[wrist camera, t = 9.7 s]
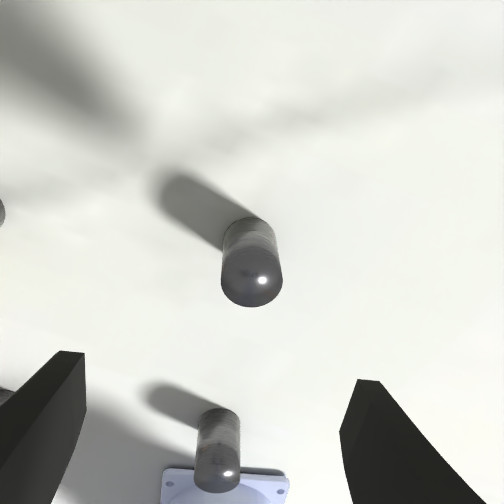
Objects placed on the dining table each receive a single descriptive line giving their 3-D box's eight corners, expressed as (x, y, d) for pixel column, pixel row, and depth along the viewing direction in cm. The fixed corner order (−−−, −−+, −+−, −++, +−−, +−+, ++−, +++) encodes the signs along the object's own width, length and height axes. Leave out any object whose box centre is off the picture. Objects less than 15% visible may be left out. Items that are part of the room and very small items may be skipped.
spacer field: (237, 438, 26) (236, 495, 23) (-14, 418, 25) (-50, 475, 22) (280, 221, 20) (287, 258, 16) (-58, 177, 18) (-119, 209, 15)
